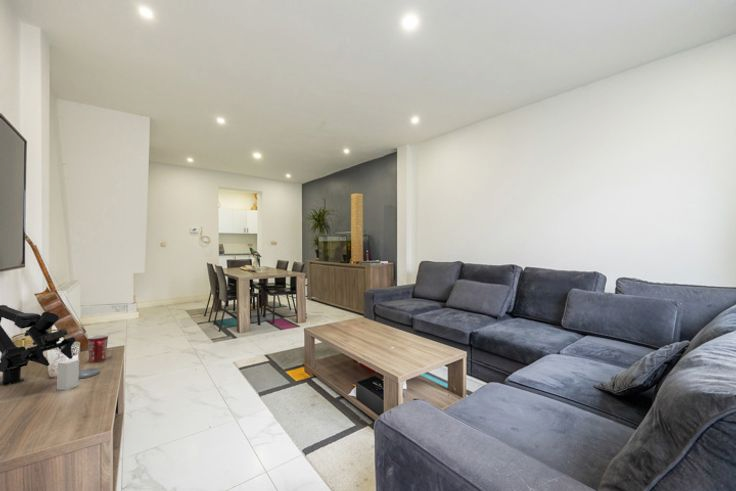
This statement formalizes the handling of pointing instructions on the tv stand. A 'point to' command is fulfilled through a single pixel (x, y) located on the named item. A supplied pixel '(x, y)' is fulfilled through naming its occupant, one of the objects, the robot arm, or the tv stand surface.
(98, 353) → the mug
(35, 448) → the tv stand surface
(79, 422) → the tv stand surface
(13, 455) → the tv stand surface
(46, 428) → the tv stand surface
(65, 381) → the block
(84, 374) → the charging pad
